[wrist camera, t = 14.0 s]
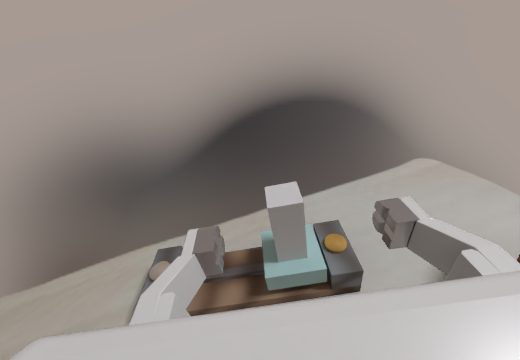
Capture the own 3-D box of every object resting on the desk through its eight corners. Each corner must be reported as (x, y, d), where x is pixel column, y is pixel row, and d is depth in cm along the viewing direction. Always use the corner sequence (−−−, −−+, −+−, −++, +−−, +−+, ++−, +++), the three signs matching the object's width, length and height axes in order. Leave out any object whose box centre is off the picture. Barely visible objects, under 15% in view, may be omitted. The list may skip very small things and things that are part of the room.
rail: (153, 322, 32) (134, 303, 29) (170, 267, 39) (156, 247, 36) (359, 291, 31) (363, 267, 27) (337, 240, 38) (338, 217, 35)
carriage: (268, 290, 30) (250, 224, 23) (264, 243, 37) (248, 180, 29) (326, 281, 30) (327, 211, 22) (311, 235, 36) (308, 170, 29)
